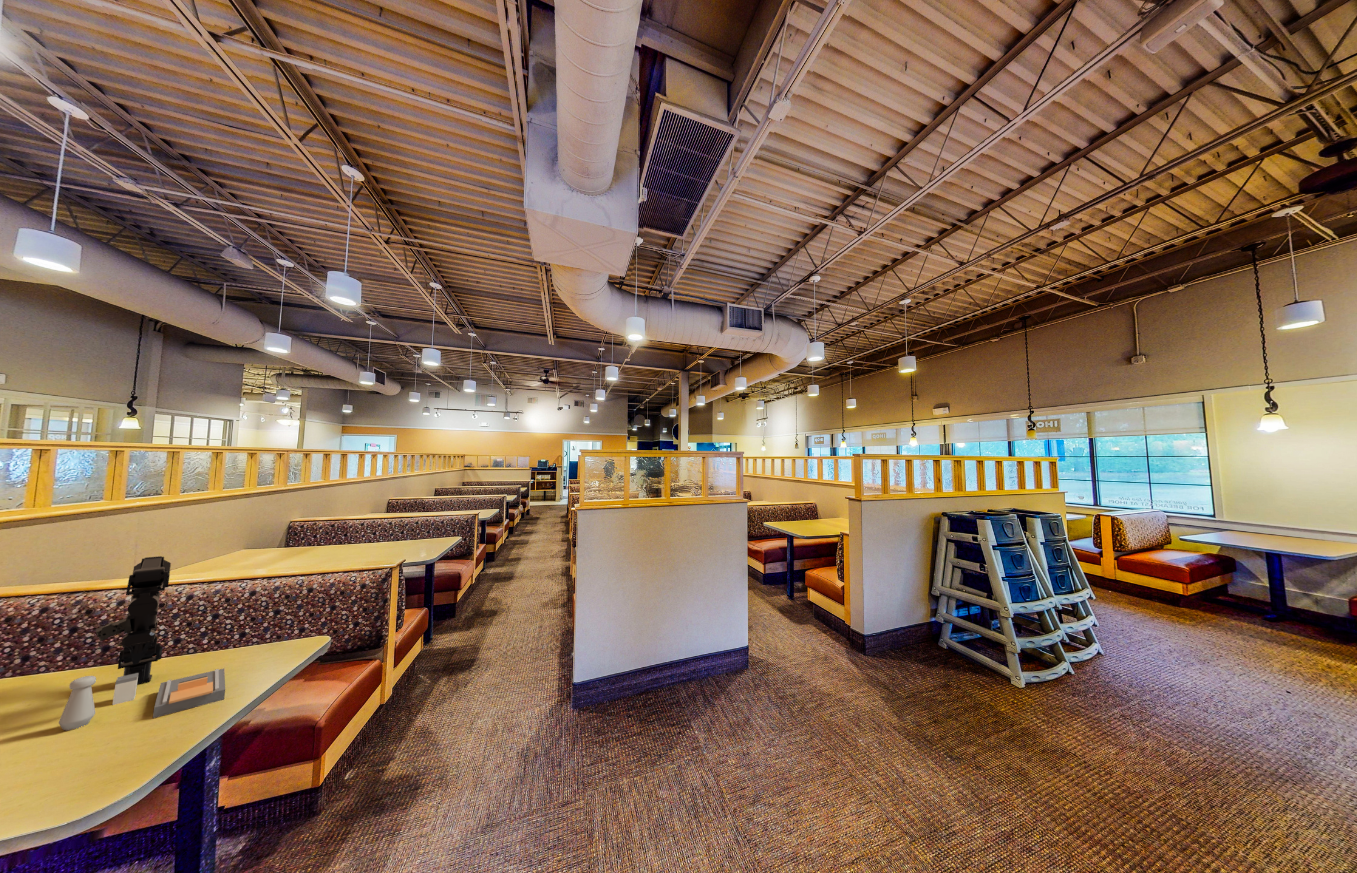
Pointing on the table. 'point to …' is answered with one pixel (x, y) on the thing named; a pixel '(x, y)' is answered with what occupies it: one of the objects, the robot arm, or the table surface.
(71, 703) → the salt shaker
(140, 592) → the robot arm
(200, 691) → the shutter
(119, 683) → the plug
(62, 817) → the table surface
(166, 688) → the socket block
